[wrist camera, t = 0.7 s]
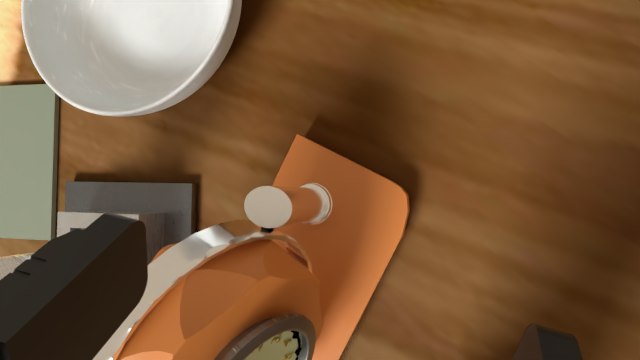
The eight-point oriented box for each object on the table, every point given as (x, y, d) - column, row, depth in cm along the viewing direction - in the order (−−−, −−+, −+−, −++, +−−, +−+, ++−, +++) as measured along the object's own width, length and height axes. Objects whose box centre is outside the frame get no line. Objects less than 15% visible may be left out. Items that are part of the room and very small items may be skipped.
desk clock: (163, 417, 48) (-36, 572, 28) (299, 134, 45) (183, 89, 25) (270, 493, 45) (131, 726, 25) (423, 196, 42) (400, 199, 22)
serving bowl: (310, 6, 45) (285, -27, 38) (161, 170, 48) (115, 166, 42) (168, -130, 49) (123, -181, 42) (40, 30, 52) (-20, 6, 46)
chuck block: (193, 332, 47) (164, 348, 42) (69, 319, 50) (28, 333, 45) (197, 183, 47) (168, 182, 42) (73, 181, 51) (33, 180, 46)
